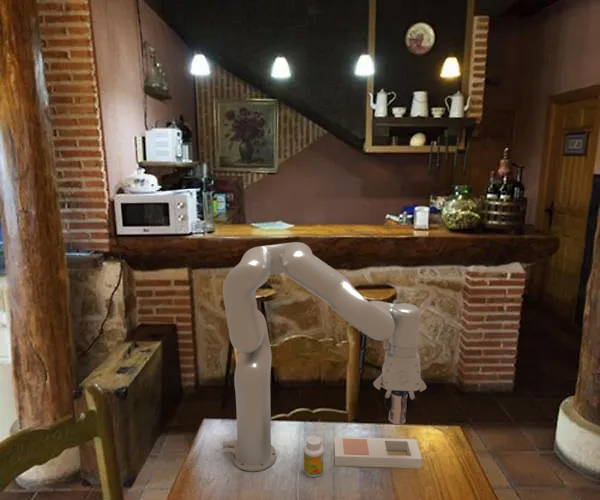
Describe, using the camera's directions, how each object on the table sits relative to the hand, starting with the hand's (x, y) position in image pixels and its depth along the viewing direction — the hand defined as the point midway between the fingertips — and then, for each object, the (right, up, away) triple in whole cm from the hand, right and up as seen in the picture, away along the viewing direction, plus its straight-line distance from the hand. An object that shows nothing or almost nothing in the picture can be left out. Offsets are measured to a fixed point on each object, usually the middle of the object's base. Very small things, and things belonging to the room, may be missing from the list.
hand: (397, 408), depth 136 cm
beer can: (0, -4, +1) cm, 4 cm away
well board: (-6, -15, +4) cm, 17 cm away
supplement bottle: (-24, -17, -2) cm, 29 cm away
